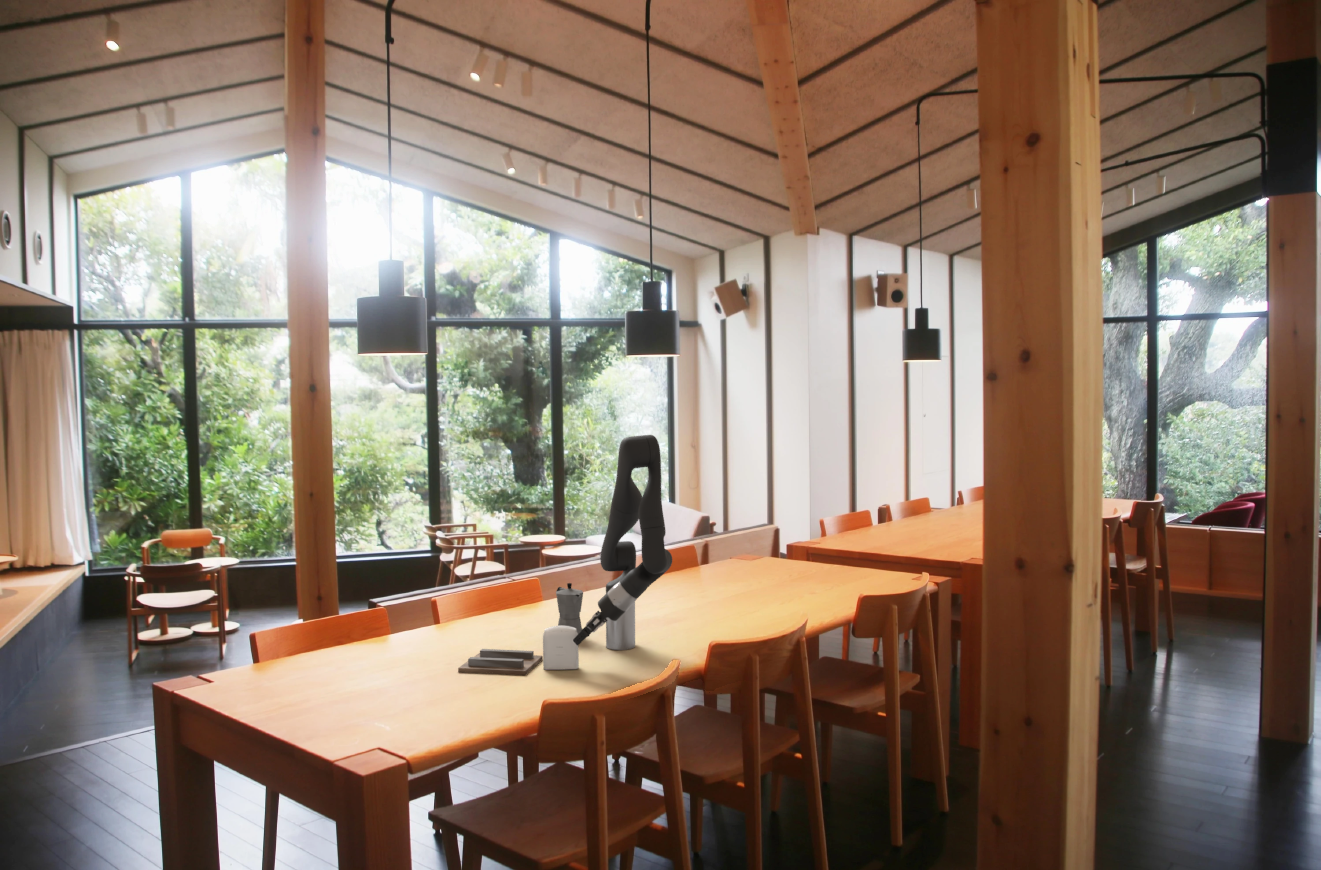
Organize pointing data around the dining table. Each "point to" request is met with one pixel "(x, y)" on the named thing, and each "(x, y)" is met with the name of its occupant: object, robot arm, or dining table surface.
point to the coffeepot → (569, 607)
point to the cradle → (501, 662)
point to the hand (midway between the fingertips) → (579, 639)
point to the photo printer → (560, 648)
